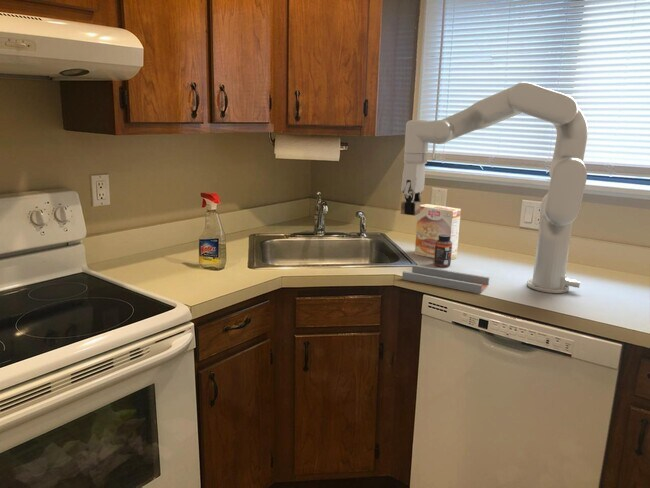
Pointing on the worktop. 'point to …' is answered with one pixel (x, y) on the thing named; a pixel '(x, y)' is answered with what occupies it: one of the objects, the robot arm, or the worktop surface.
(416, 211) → the walnut block
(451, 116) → the robot arm
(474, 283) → the channel
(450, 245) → the supplement bottle
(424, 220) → the coffeecake box
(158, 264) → the worktop surface
